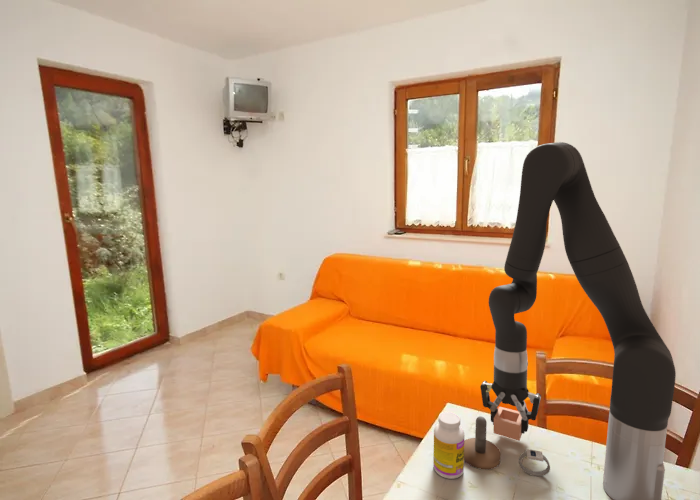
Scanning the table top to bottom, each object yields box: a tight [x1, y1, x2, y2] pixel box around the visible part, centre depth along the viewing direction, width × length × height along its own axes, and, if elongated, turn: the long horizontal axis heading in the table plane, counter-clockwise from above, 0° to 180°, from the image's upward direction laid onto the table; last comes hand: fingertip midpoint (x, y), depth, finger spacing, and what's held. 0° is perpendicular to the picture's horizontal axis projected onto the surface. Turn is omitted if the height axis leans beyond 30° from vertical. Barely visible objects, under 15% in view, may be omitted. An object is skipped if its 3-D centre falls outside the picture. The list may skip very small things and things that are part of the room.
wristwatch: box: [518, 448, 551, 477], centre depth 85 cm, size 6×3×5 cm, turn 70°
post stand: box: [464, 415, 502, 471], centre depth 91 cm, size 9×9×10 cm
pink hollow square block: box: [493, 406, 523, 441], centre depth 96 cm, size 6×6×4 cm
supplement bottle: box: [432, 411, 465, 480], centre depth 87 cm, size 7×7×13 cm
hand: (509, 427), depth 96 cm, fingers closed on pink hollow square block, 6 cm apart
